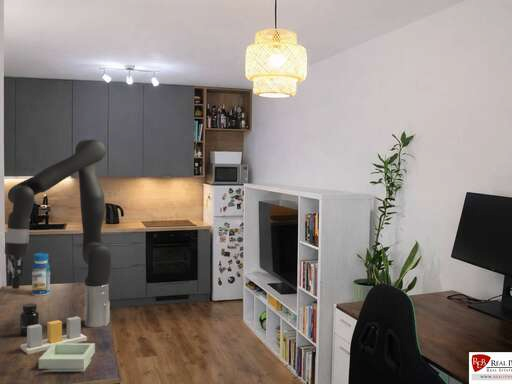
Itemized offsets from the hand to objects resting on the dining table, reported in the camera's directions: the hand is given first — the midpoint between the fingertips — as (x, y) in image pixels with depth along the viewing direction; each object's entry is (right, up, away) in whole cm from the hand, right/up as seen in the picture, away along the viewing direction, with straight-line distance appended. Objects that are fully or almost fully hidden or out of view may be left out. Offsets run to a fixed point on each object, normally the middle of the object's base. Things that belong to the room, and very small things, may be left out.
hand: (13, 286), depth 180 cm
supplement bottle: (+1, -21, +11) cm, 24 cm away
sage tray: (+25, -23, -14) cm, 36 cm away
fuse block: (+15, -22, 0) cm, 26 cm away
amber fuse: (+15, -21, 0) cm, 26 cm away
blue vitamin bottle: (-20, -17, +70) cm, 75 cm away
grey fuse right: (+20, -21, +5) cm, 29 cm away
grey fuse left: (+10, -21, -5) cm, 24 cm away
